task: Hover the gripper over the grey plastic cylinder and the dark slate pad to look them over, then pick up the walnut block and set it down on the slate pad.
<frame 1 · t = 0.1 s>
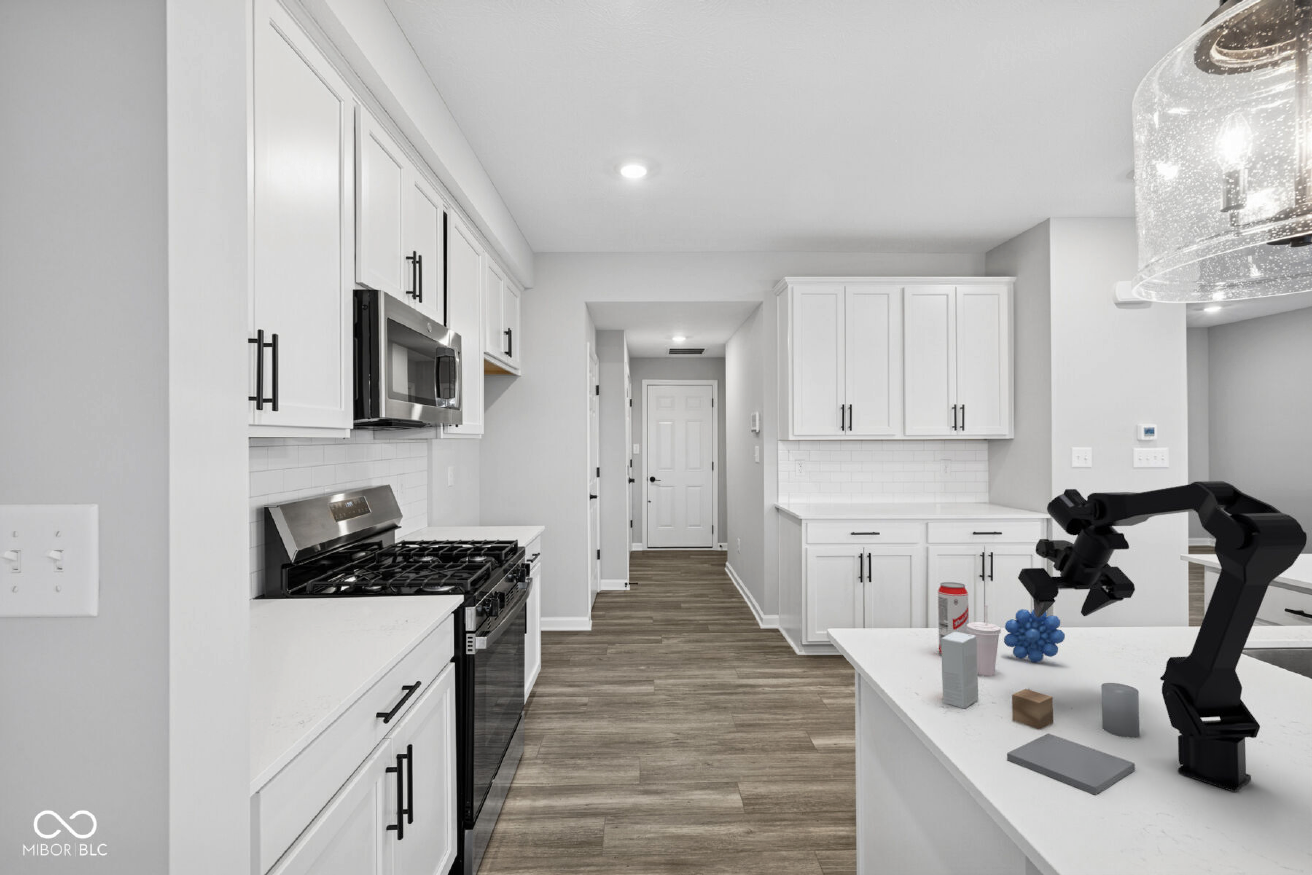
hand: (1059, 614, 124), 15 cm above the countertop, tool tilted 30°, fingers open, 9 cm apart
slate pad: (1069, 764, 96), on the countertop
walnut block: (1032, 721, 111), on the countertop
smoothie: (984, 673, 135), on the countertop
beer can: (954, 656, 146), on the countertop
skincare box: (960, 702, 120), on the countertop
grey cylinder: (1120, 730, 107), on the countertop
grapes: (1034, 661, 142), on the countertop
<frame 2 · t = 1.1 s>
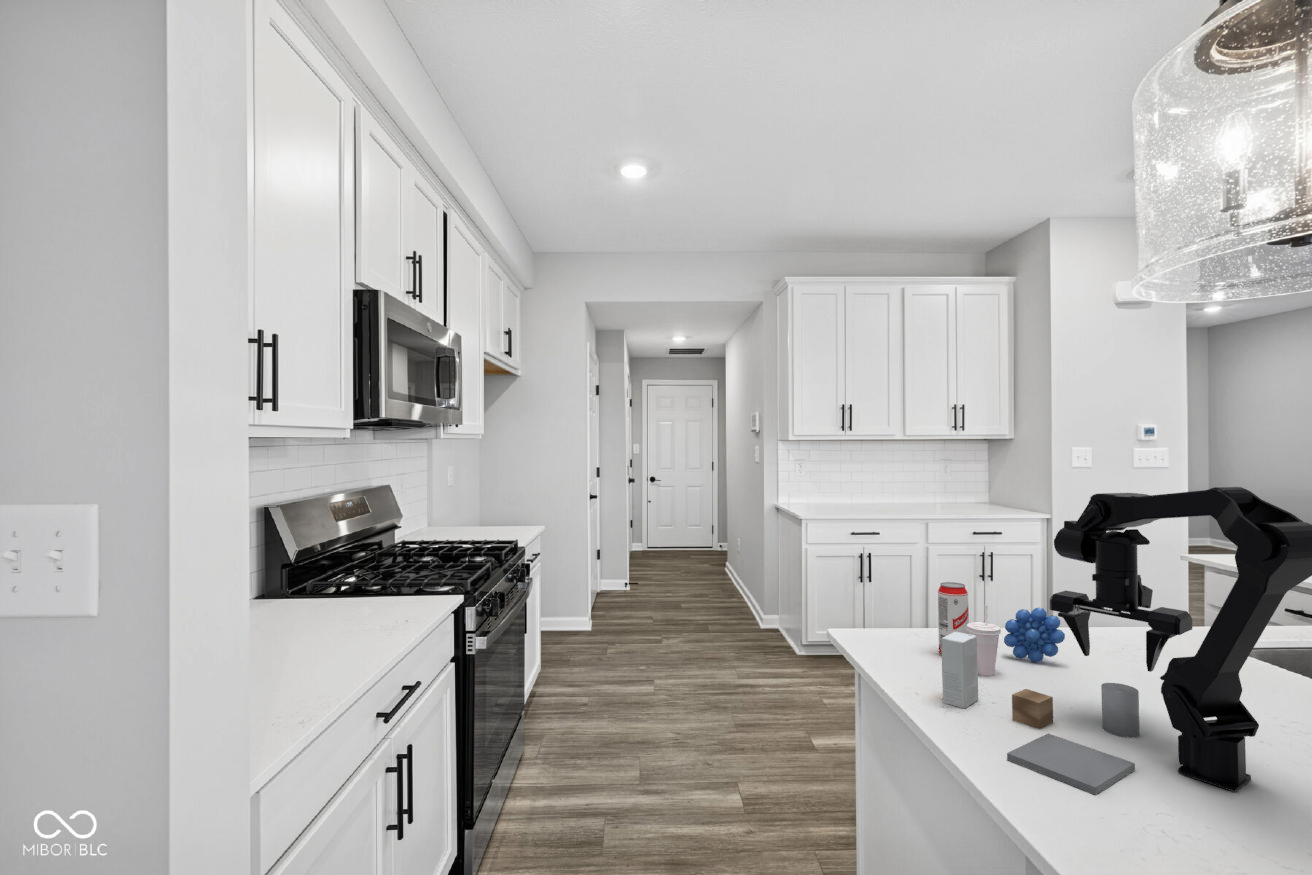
hand: (1117, 662, 108), 11 cm above the countertop, tool pointing down, fingers open, 9 cm apart
nothing on the countertop moved.
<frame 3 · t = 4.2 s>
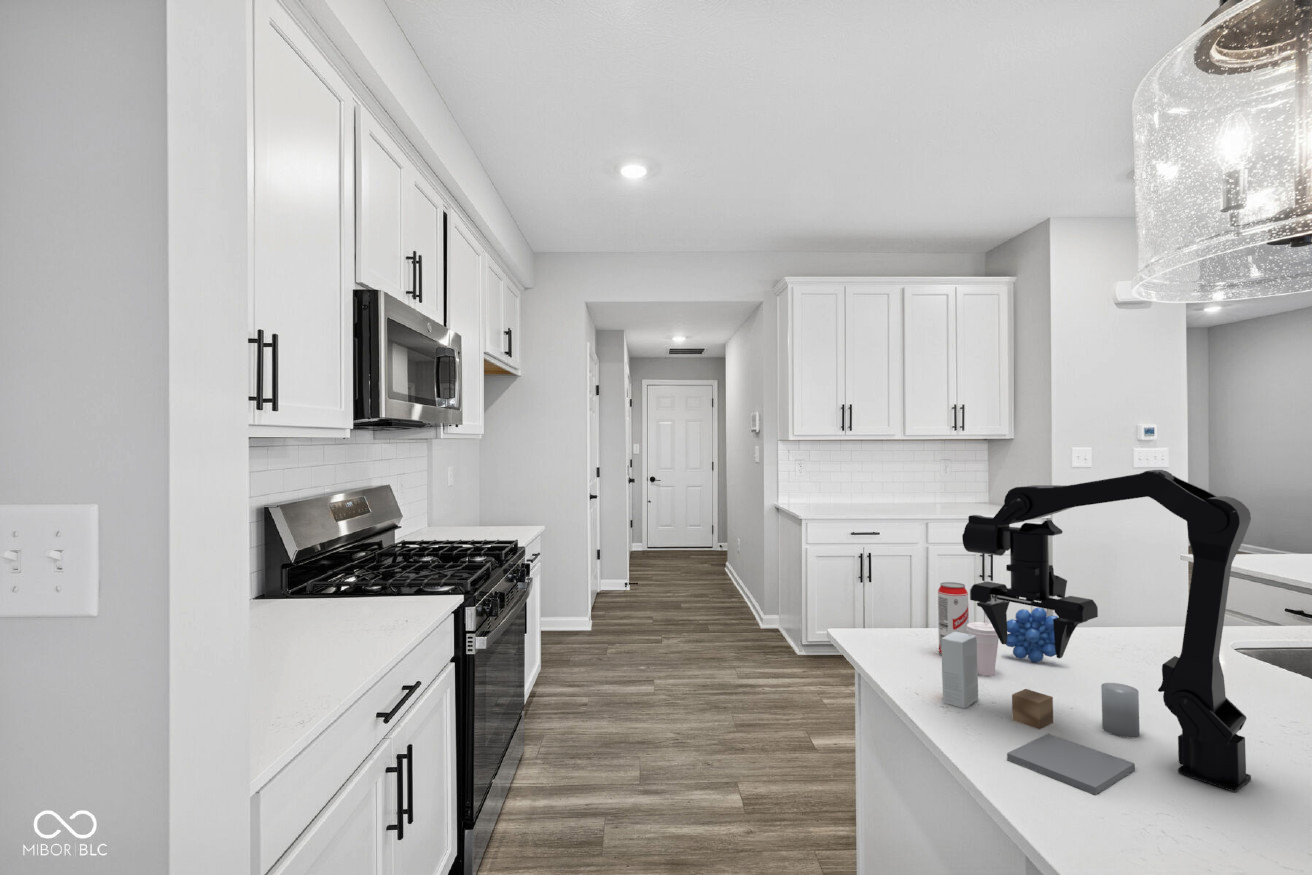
hand: (1031, 650, 112), 12 cm above the countertop, tool pointing down, fingers open, 9 cm apart
nothing on the countertop moved.
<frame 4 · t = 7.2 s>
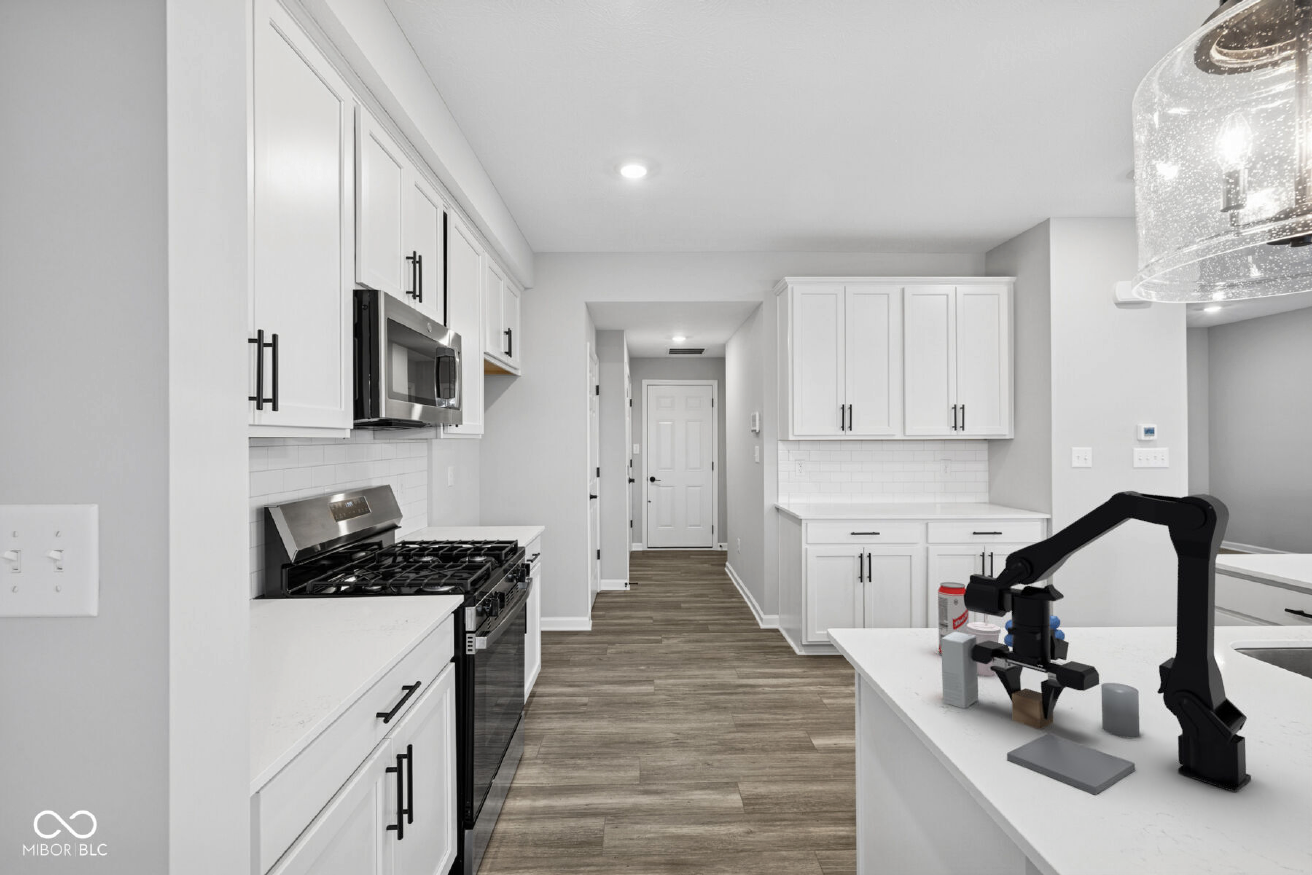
hand: (1032, 714, 111), 1 cm above the countertop, tool pointing down, fingers closed on walnut block, 4 cm apart
walnut block: (1032, 721, 111), on the countertop, touching gripper
everything else where it was.
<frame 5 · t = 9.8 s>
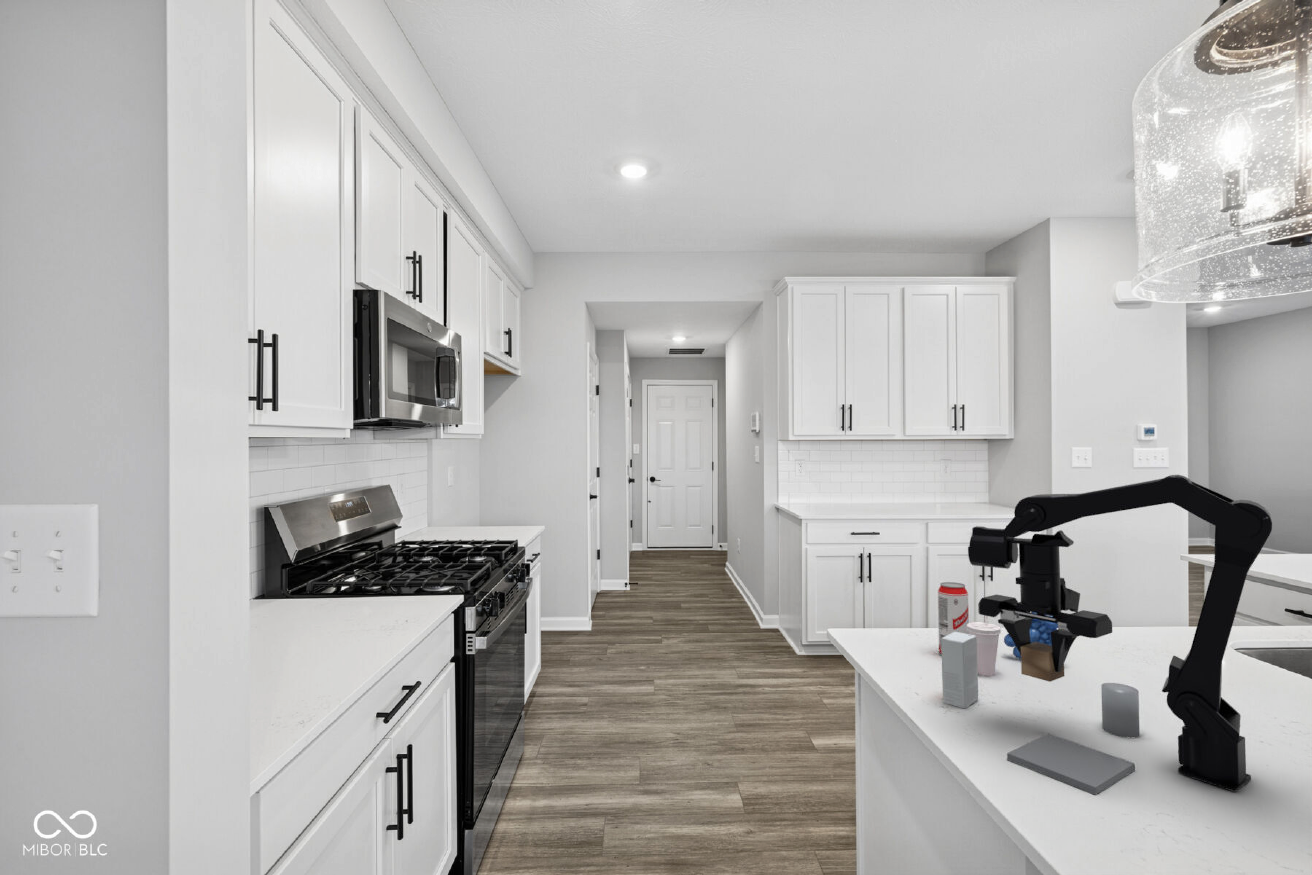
hand: (1042, 667, 107), 11 cm above the countertop, tool pointing down, fingers closed on walnut block, 4 cm apart
walnut block: (1042, 674, 107), point 10 cm above the countertop, touching gripper
everything else where it was.
when the fingers open (4 cm above the countertop, at t = 12.7 s): walnut block drops 1 cm, resting on slate pad.
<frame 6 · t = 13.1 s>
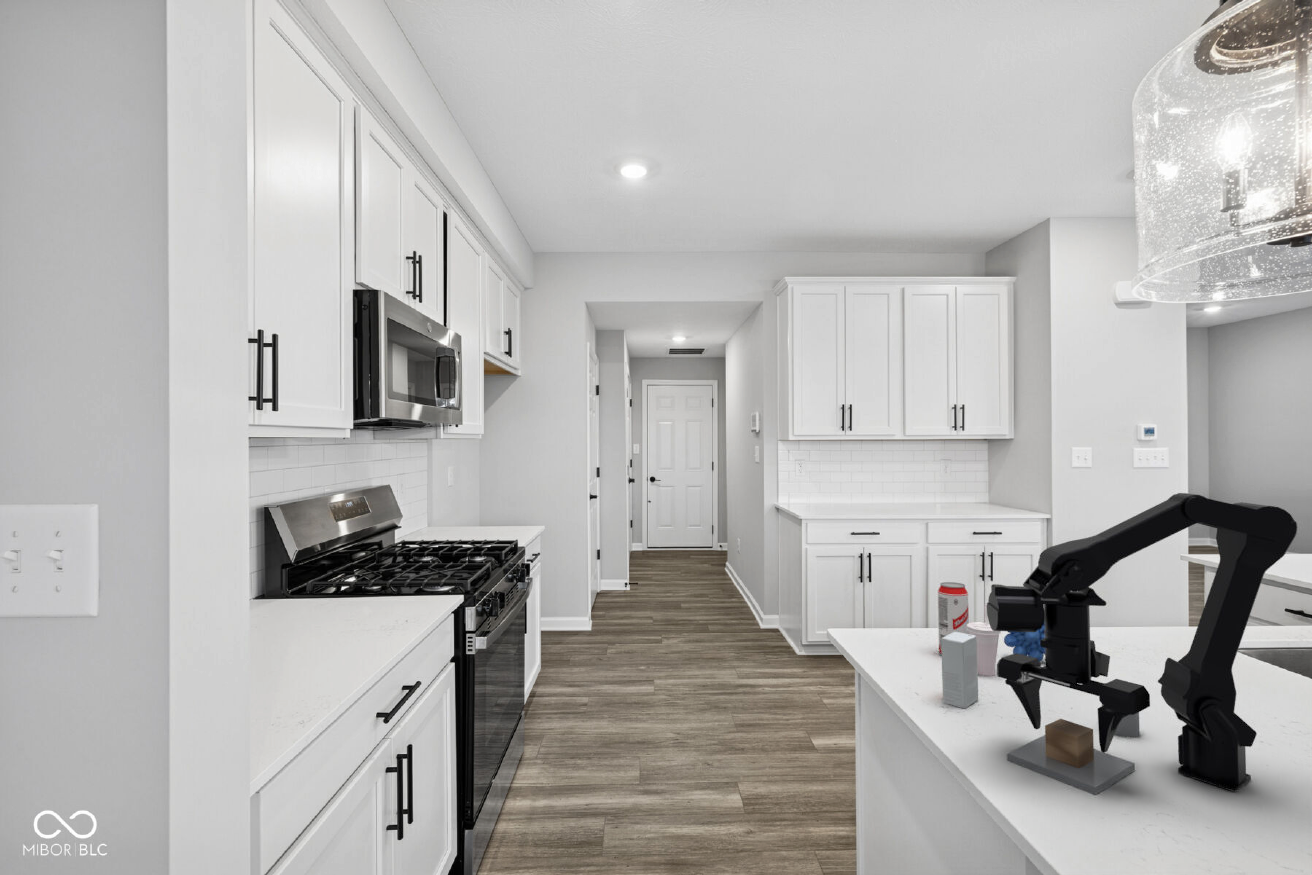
hand: (1069, 739, 96), 4 cm above the countertop, tool pointing down, fingers open, 9 cm apart
walnut block: (1069, 757, 96), point 1 cm above the countertop, touching slate pad
everything else where it was.
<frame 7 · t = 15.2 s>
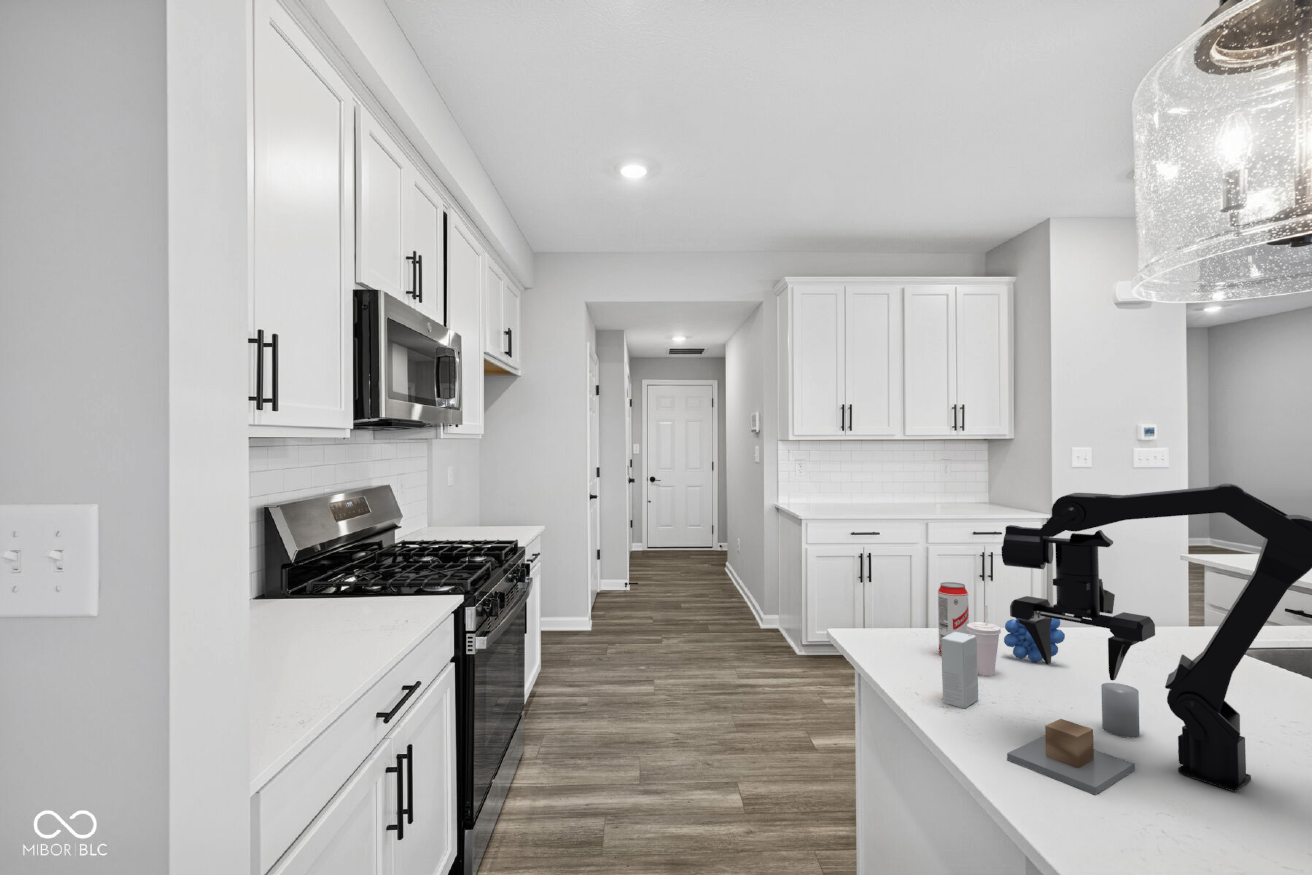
hand: (1079, 671, 103), 11 cm above the countertop, tool pointing down, fingers open, 9 cm apart
nothing on the countertop moved.
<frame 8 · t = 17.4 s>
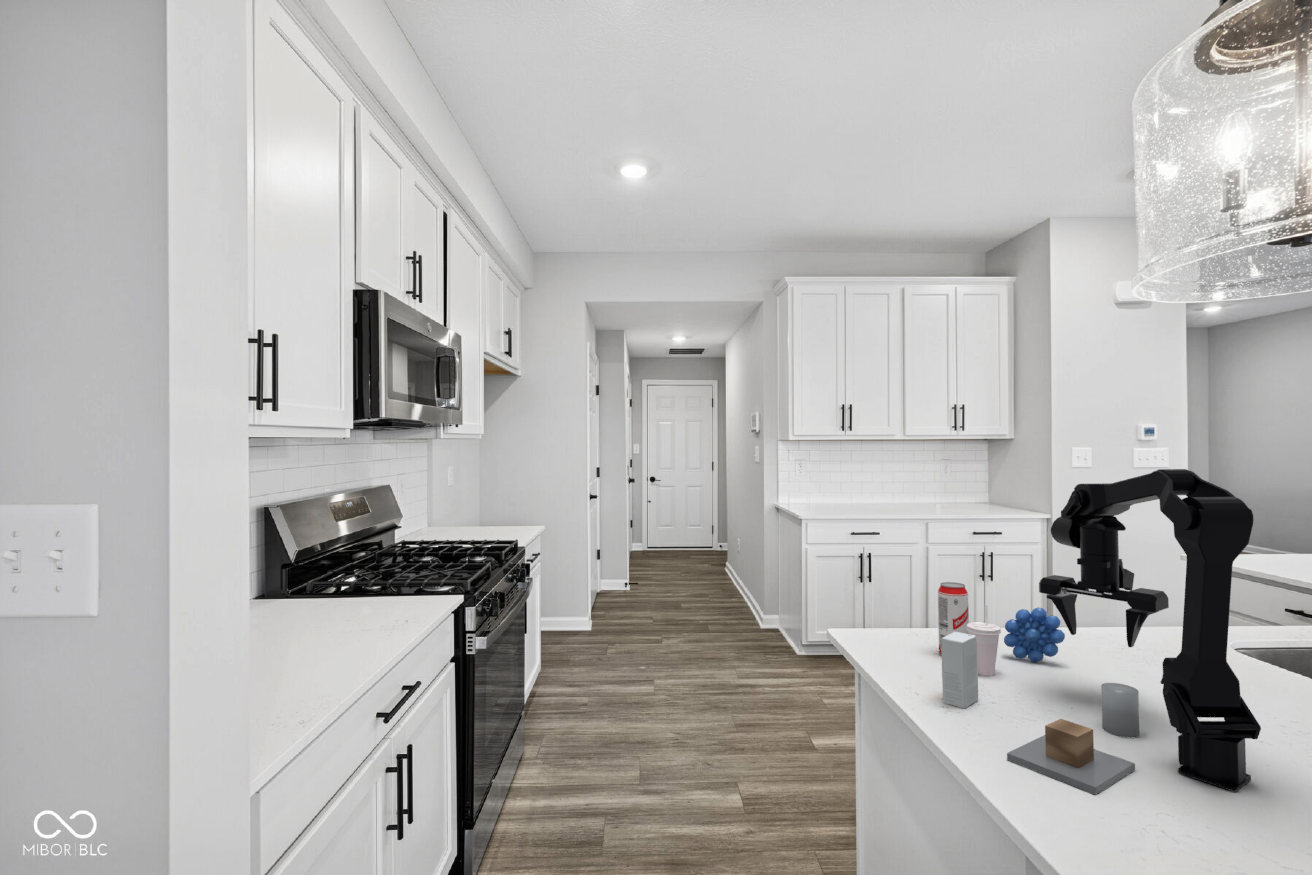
hand: (1101, 640, 117), 12 cm above the countertop, tool pointing down, fingers open, 9 cm apart
nothing on the countertop moved.
at the end: walnut block inside the target area on the slate pad (0.0 cm from its centre), point 1.0 cm above the slate pad's base; walnut block tilted 0°; the gripper is holding nothing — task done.
